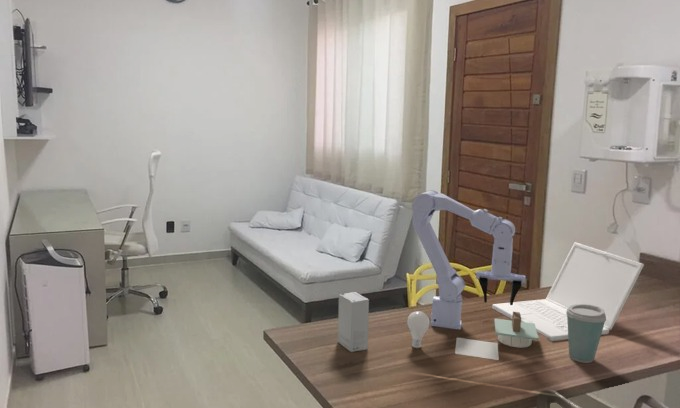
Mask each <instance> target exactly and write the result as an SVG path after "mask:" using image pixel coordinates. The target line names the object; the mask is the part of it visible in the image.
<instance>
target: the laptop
mask: <svg viewBox="0 0 680 408" xmlns="http://www.w3.org/2000/svg"><path fill="white" fill-rule="evenodd" d="M644 266H645V263H642V262H640V261H639V262H638V261H636V260H633V259H630V258H626V257H623V256H621V255H617V254H614V253H611V252H608V251H605V250H601V249H599V248H595V247H592V246H590V245H589V246H588V245H585V244H583V243H579V242H576V241H574V243H573V244H572V246H571V248H570V250H569V252H568V253H567V256H566V258H565V260H564V262H563V263H562V266H561V267H560V270H559V271H558V274H557V276H556V278H555V280H554V282H553V284H552V286H551V287H550V289H549V291H548V293H547V296H546V298H544V299H543V298H542V299H533V300H522V301H513V305H510V302H503V303H493V304H492V306H491V309H493V310H494V311H496V312H498V313H500V314H501V315H503V316H505V317H506V318H509V319H511V320H512V317H513V312H520V315H521V322H526V323H534V324H535V327H536V331H537V334H538V333H539V334H541V335H542V336H544V337H545V338H546V340H548V341H549V342H557V341H564V340H568V321H567V315H566V311H567V309H568V308H569V307H570V306H572V305H576V304H590V305H594V306H597V307H600V308H602V309H604V312H605V315H606V321H605V323H604V326H603V330H602V333H601V336H602V335H609V333H610V330H612V329H613V327H614V326H615V324H616V321H617V319H618V317H619V316H620V314H621V311H622V309H623V307H624V305H625V304H626V302H627V300H628V298H629V296H630V293H631V291H632V289H633V288H634V286H635V284H636V281H638V278H639V276H640V274H641V272H642V269H643V268H644Z"/></svg>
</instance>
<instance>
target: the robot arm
mask: <svg viewBox="0 0 680 408" xmlns="http://www.w3.org/2000/svg"><path fill="white" fill-rule="evenodd" d="M411 207H412V220H411V221H412V226H413V228H414V230H415V233H416V235H417V236H418V239H419V240H420V243H421V245H422V246H423V249H424V251H425V253H426V255H427V257H428V259H429V262H430V264H431V265H432V269H434V271H435V274H436V284H437V286H438V294H439V295H438V296H437V295H434V296H432V297H433V298H432V306H431V313H430V326H431V327H432V326H433V327H438V328H439V327H440V328H445V329H446V328H447V329H453V330H461V329H462V320H461V319H462V308H463V307H462V306H463V296H462V292H463V291H464V290H465V287H466V283H465V281H464V279H463V278H462V277H461V275H459V274H458V272H457V270H456V269H455V268H454V267H452V265H451V263H450V261H449V259H448V257H447V255H446V253H445V251H444V248H443V247H442V245H441V242H440V241H439V238H438V237H437V234H436V232H435V230H434V229H433V226H432V224H431V221H432V219H433V218H432V217H433V215H434V213H435V212H438V211H448V212H450V213H453V214H455V215H457V216H458V217H461V218H464V219H467V220H469V222H470V225H471V226H472V227H474V228H476V229H478V230H480V231H482V232H484V233H487V234H488V235H490V236H491V235H492V236H493V244H492V257H491V268H490V269H491V270H490V271H489V270H488V271H487V270H486V271H484V270H483V271H481V270H476V271H475V279H478V280H479V281H478V282H479V284H480V287H481V289H482V294H483V302H484V303H487V301H488V286H489V285H488V283H489V281H488V280H492V281H494V280H495V281H504V282H511V292H510V298H509V303H510V305H513V302H515V298H516V296H517V294H518V292H519V291H520V289H521V287H522V284H526V275H524V274H516V273H512V272H511V271H512V261H513V247H514V246H513V243H514V241H513V240H514V237H513V236H515V234H516V226H515V224H514V223H513V222H512V221H510V220H509V219H503V217H501V216H499V217H498V216H496V215H494V214H492V213H489V209H486V208H484V209H481V208H479V209H476V210H475V209H472V208H470V207H468V206H466V205H464V204H463V203H461V202H459V201H457V200H456V199H453V198H451V197H450V196H448V195H446V194H445V193H442V192H441V193H440V192H438V191H436V190H435V189H434V190H433V189H431V190H427V191H425V192H422V193H419V194H417V195H416V196H415V198H414V200H413V202H412V205H411Z"/></svg>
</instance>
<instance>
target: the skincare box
mask: <svg viewBox="0 0 680 408" xmlns="http://www.w3.org/2000/svg"><path fill="white" fill-rule="evenodd" d="M369 306H370V299H368V298H367V297H366V296H363V295H361V294H359V292H356V291H352V292H346V293H340V294H338V314H337V315H338V319H337V320H338V325H337V327H338V328H337V329H338V330H337V342H338V343H339V344H340V345H341V346H343V348H345V349H346V350H348V351H349V352H350V353H354V352H361V351H366V350H368V348H369V317H370V316H369V312H370V311H369V309H370V308H369Z"/></svg>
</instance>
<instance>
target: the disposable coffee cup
mask: <svg viewBox="0 0 680 408" xmlns="http://www.w3.org/2000/svg"><path fill="white" fill-rule="evenodd" d="M566 315H567V321H568V339H567V340H568V341H567V342H568V355H569V357H570V359H571V360H573V361H574V362H575V361H576V362H577V363H578V362H579V363H583V364H586V363H588V364H589V363H592V362H594V360H595V358H596V354H597V350H598V347H599V344H600V340H601V336H602V335H601V333H602V330H603V326H604V323H605V321H606V315H605V312H604V309H602V308H600V307H597V306H594V305H590V304H576V305H572V306H570V307H569V308H568V309H567V311H566Z"/></svg>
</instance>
